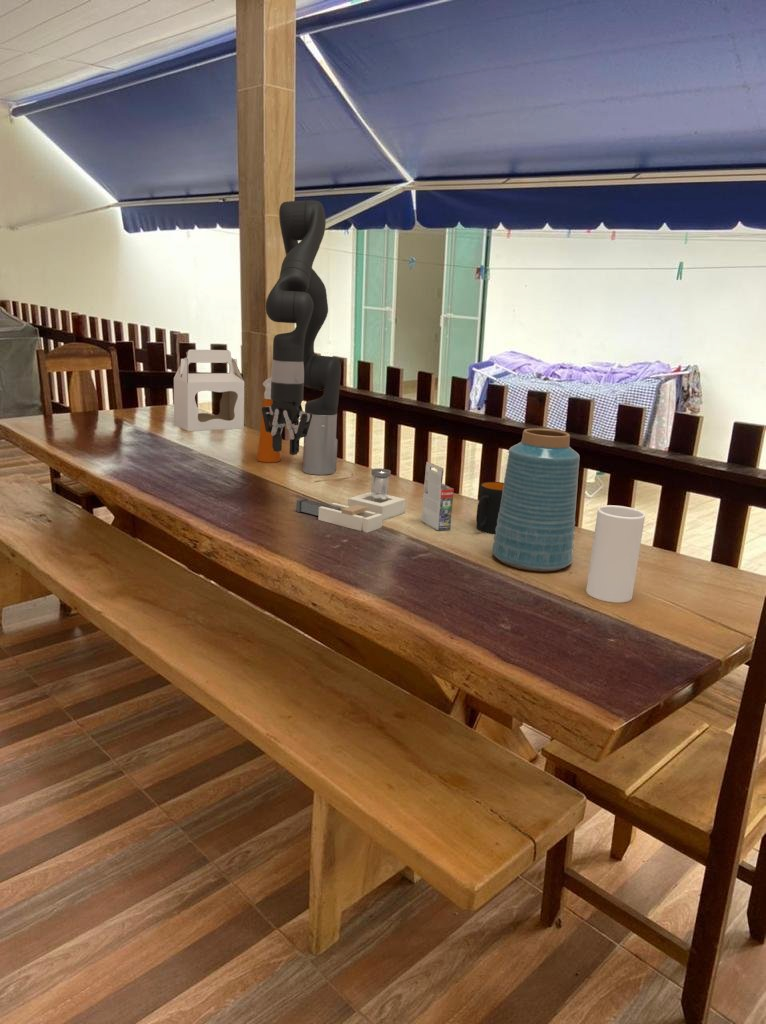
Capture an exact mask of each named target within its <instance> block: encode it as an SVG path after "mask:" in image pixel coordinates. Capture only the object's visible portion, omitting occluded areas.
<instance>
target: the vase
mask: <svg viewBox="0 0 766 1024" xmlns="http://www.w3.org/2000/svg"><path fill="white" fill-rule="evenodd" d="M570 441H571V435H570V433H568V432H566V431H562V430H557V429H551V428H550V429H549V428H525V429H524V430H523V431H522V438H521V441H520V442H518V443H517V444H514V445H512V446H510V448H508V455H507V462H506V465H505V466H506V468H505V473H504V478H503V483H504V485H503V490H502V496H501V503H500V508H499V512H498V518H497V525H496V529H495V530H496V533H495V534H493V535H494V536H493V540H494V541H493V543H492V550H491V551H492V554H493V556H494V557H495V558H496V559H498V560H499V561H500V562H501V563H503V564H504V565H506V566H509V567H511V568H516V569H518V570H524V571H529V572H542V573H543V572H548V573H549V572H555V571H559V570H562V569H564V568H567V567H568V566H569V565H571V563H573V557H574V553H573V550H574V545H575V544H574V541H575V531H576V527H575V525H576V510H577V499H578V498H577V497H578V494H577V493H578V483H579V481H578V479H579V469H580V459H581V458H580V454H579V453H578V452H577V451H576V450H574V449H573V448H572V447H571V446H570V443H571V442H570Z"/></svg>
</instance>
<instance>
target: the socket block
mask: <svg viewBox="0 0 766 1024" xmlns="http://www.w3.org/2000/svg"><path fill="white" fill-rule="evenodd" d="M370 499H371V491H369V492H366V493H361V494H359V495H356V496H352V497H349V498H347V506H353V505H361V506H365V507H367V511H370V512H374V513H376V514H382V515H383V519H382V522H384V521H386V520H389V519H393V518H395V517H397V516H400V515H403V514H406V505H407V504H406V502H407V499H406V498H402V497H397V496H393V495H389V494H388V495H387V501H386V502H382V503H378V502H373V501H370Z"/></svg>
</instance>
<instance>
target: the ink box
mask: <svg viewBox="0 0 766 1024" xmlns="http://www.w3.org/2000/svg"><path fill="white" fill-rule="evenodd" d="M432 468H434V469H435V470H437V471H435V470H432ZM424 474H425V475H424V485H423V496H422V497H423V498H422V510H421V511H422V513H421V522H422V523H423V524H425V525H427V526H428V527H430V528H433V529H434V530H436V531H439V532H440V531H442V532H443V531H450V530H451V527H452V526H451V524H452V513H453V500H454V490H455V489H454V488H453V487H452V486H451V487H450V486H448V485H446V484H444V483H443V478H444V477H443V476H444V467H442V466H439V465H438V464H437V465H436V464H434V463H431V462H430V461H426V464H425V473H424Z"/></svg>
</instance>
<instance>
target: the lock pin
mask: <svg viewBox="0 0 766 1024" xmlns="http://www.w3.org/2000/svg"><path fill="white" fill-rule="evenodd" d="M295 505H296V509H295V511H296V512H297V513H301V512H302V513H305V514H310V515H313V516H319V507H321V506H323V507H327V508H331V509H335V510H339V511H340V508H339V507H335V506H331V504H326V503H321V502H319V501H315V500H311V499H310V500H309V498H306V497H303V498H300V499H296V504H295Z"/></svg>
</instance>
